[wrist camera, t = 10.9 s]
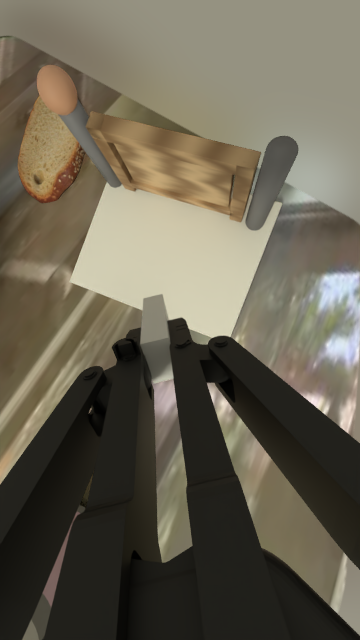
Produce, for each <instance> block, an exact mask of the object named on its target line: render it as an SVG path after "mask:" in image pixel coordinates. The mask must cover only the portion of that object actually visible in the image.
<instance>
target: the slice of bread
mask: <svg viewBox="0 0 360 640" xmlns="http://www.w3.org/2000/svg"><path fill="white" fill-rule="evenodd" d="M84 152H85V151H84V149H83V148H82V147H81V145H80V144H79V142H78V141H77V140H76V138H75V137H74V136H73V134H72V133H71V132H70V130H69V129H68V127H67V126H66V125H65V123H64V122H63V121H62V119H61V118H60V116H59V115H58V114H56V113H54V112H53V111H51V110H50V109H49V108H48V107H47V106H46V105H45V103H44V102H43V100H42V99H41V97H40V94H39V96H38V98H37V100H36V101H35V104H34V108H33V109H32V111H31V114H30V117H29V119H28V123H27V125H26V129H25V134H24V136H23V140H22V143H21V149H20V154H19V156H18V171H19V176H20V179H21V182H22V184H23V186H24V188H25V189H26V191H27V192H28V193H29V194H30V195H31V196H32V197H34V198H35V199H36V200H38V201H39V202H41V203H47V202H52V201H56V200H58V199H59V198H60V196H61V194H62V193H63V192H64V191H65V190H66V189H67V188H68V187H69V186H70V185H71V184H72V183H73V182H74V180H75V179H76V177H77V175H78V173H79V170H80V167H81V165H82V161H83V157H84Z"/></svg>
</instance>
